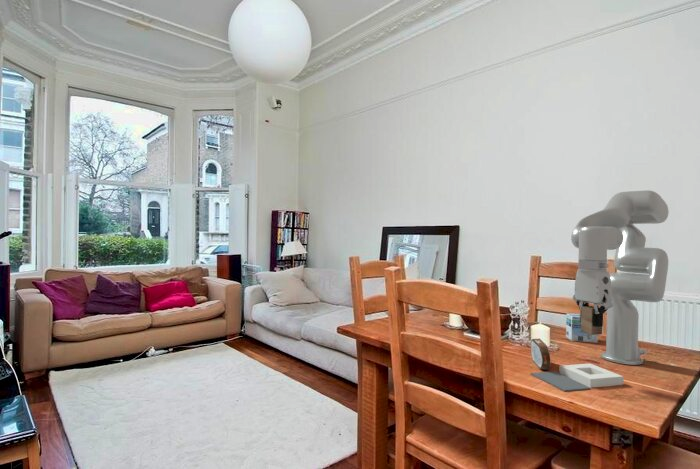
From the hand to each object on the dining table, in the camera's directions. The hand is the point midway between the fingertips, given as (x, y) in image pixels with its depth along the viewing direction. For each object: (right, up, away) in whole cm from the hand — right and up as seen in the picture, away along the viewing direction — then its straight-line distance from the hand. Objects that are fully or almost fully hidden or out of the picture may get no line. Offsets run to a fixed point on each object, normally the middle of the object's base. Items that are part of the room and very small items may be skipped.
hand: (591, 324), depth 122 cm
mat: (-12, -17, -3) cm, 21 cm away
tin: (-10, -17, +12) cm, 23 cm away
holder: (0, -17, 0) cm, 17 cm away
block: (0, -3, 0) cm, 3 cm away
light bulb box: (+25, -18, +47) cm, 56 cm away
